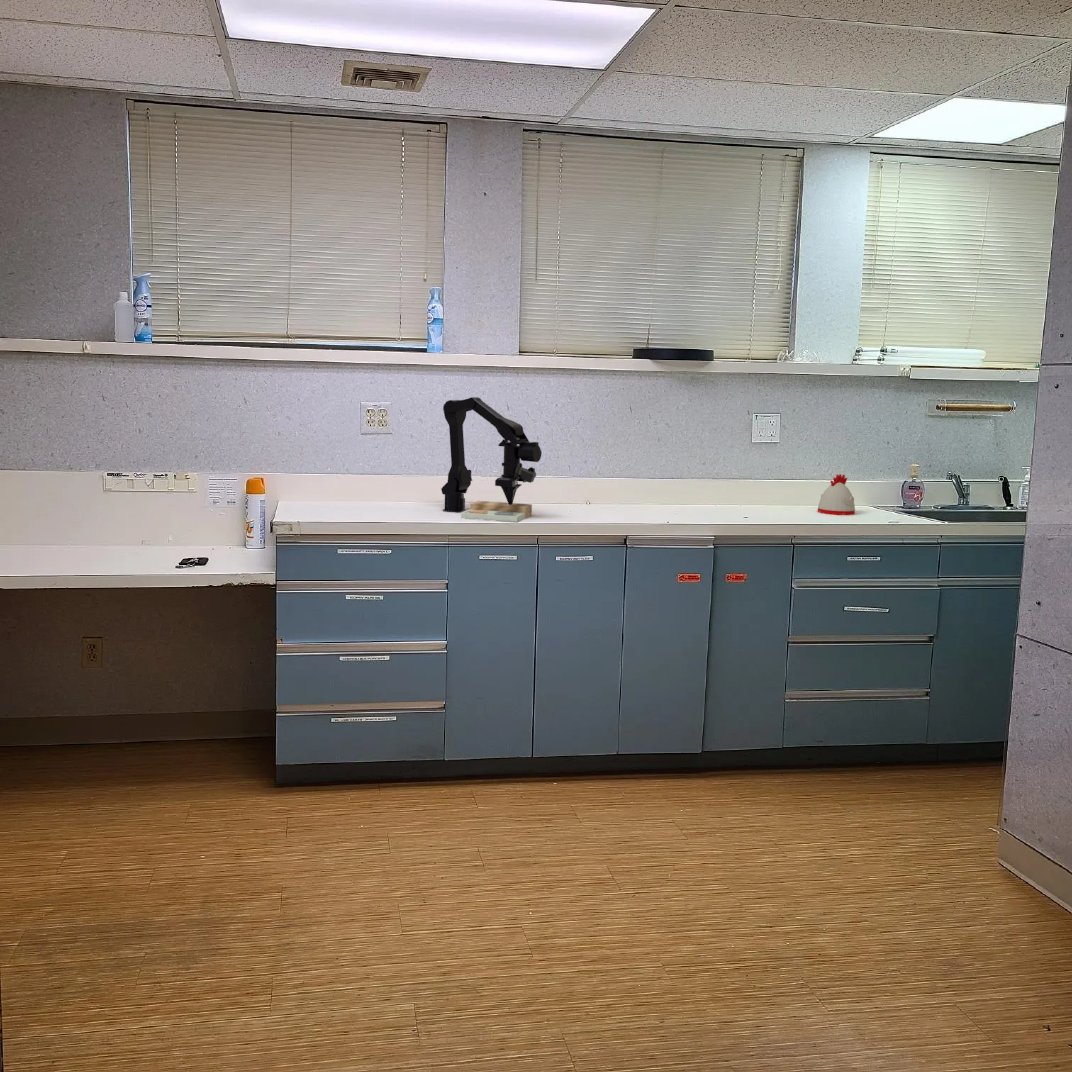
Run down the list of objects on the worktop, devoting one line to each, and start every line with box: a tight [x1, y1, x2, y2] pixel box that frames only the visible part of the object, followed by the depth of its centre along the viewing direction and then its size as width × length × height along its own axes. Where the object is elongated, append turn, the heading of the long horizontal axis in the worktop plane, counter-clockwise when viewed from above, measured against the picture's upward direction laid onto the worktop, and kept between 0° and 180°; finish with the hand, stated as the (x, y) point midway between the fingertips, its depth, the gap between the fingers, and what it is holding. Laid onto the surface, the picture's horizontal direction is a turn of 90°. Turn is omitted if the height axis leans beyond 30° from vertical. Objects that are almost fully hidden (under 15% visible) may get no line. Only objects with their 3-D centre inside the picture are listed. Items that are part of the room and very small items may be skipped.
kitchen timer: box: [817, 474, 856, 516], centre depth 416 cm, size 14×14×15 cm
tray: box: [460, 508, 526, 523], centre depth 371 cm, size 20×10×2 cm, turn 75°
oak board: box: [470, 500, 533, 519], centre depth 380 cm, size 20×8×4 cm, turn 74°
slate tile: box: [495, 511, 513, 516], centre depth 369 cm, size 5×5×2 cm
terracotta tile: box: [469, 510, 488, 514], centre depth 372 cm, size 5×5×2 cm
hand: (510, 504), depth 375 cm, fingers closed
